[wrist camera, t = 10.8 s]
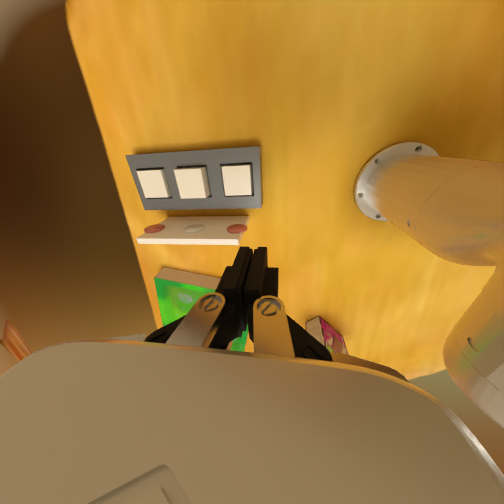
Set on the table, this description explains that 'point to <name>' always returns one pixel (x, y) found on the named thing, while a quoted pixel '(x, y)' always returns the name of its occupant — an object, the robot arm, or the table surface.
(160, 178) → the button
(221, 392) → the robot arm
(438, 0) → the table surface
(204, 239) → the button panel
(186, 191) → the middle button
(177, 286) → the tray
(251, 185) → the button
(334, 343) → the candy bar box
